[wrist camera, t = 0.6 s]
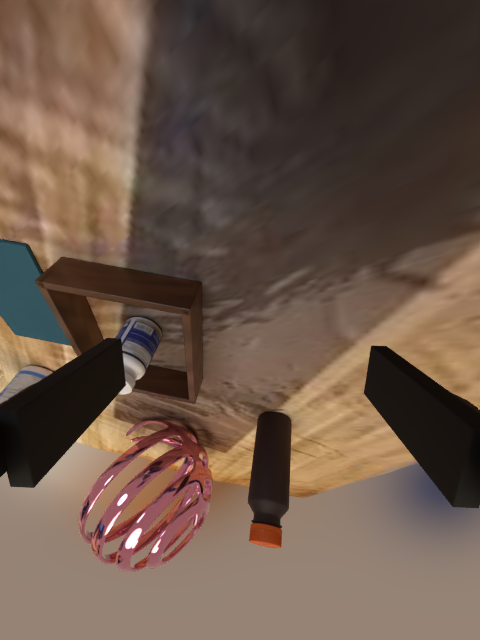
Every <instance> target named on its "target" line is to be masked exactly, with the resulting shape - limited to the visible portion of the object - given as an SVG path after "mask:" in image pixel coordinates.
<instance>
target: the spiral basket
mask: <svg viewBox="0 0 480 640" xmlns="http://www.w3.org/2000/svg"><path fill="white" fill-rule="evenodd" d="M150 423H158V424H162V425H165V426H167V427H168V428H166V429H163V430H160V431H158V432H155V433H153V434H151V435H149V436H142V437H137V438H133V439H131V441H139V442H138V443H136V444H135V445H134V446H132V447H131V448H130V449H128V450H127V451H126V452H125V453H123V454H122V455H121V456H120V457H119V458H118V459H117V460H116V461H115V462H113V463H112V464H111V465H110V466H109V467H108V468H107V469H106V471H105V472H104V473H103V474H102V475H101V476H100V478H99V479H98V480H97V481H96V483H95V484H94V485H93V487H92V488H91V490H90V491H89V493H88V494H87V496H86V498H85V500H84V502H83V504H82V506H81V509H80V512H79V516H78V529H79V532H80V535H81V537H82V539H83V540H84V541H85V542H87V543H89V544H91V551H92V554H93V555H94V557H95V558H96V559H97V560H98V561H100V562H101V563H104V564H115V563H116V567H117V568H118V569H119V570H120V571H123V572H136V571H139V570H141V569H143V568H145V567H148V568H150V569H153V568H157V567H160V566H162V565H164V564H166V563H167V562H169V561H170V560H171V559H172V558H174V557H175V556H176V555H177V554H178V553H179V552H180V551H181V550H182V549H183V548H184V547H185V546H186V545H187V544H188V542H189V541H190V540H191V539H192V538H193V536H194V535H195V534H196V532H197V531H198V530H199V528H200V527H201V526H202V524H203V522H204V520H205V518H206V516H207V513H208V510H209V505H210V498H211V491H212V484H213V477H212V472H211V470H210V469H209V468H208V455H207V452H206V450H205V449H204V447H203V446H202V445H200V444H198V443H197V439H196V437H195V435H194V434H193V433H192V432H191V431H190V430H188V429H186V428H184V427H181V426H178V425H175V424H173V423H171V422H169V421H165V420H160V419H150V420H145V421H142V422H140V423H138V424H136V425H135V426H133V427H132V428H131V429H130V430H129V431H128V432H127V433H126V436H128V435H129V434H131V433H132V432H133V431H135V430H136V429H137V428H139V427H141V426H143V425H146V424H150ZM188 435H189V436H188ZM172 436H177V437H179V438H180V439H181V440H182V443H181V442H179V441H177V440H174V439H171V438H169V437H172ZM189 437H190V438H189ZM158 442H161V443H165V444H168V445H170V446H173V447H175V448H174V449H172V450H170V451H168V452H166V453H165V454H163V455H162V456H160V457H159V458H157V459H156V460H154V461H153V462H152V463H151V464H149V465H148V466H147V467H146V468H144V469H143V470H142V471H141V472H140V473H139V474H137V475H136V476H135V478H133V479H132V480H131V481H130V482H129V483H128V484H127V485H126V486H125V487H124V488H123V489H122V491H121V492H120V493H119V494H118V495H117V496H116V498H115V499H114V500H113V501H112V503H111V504H110V505H109V507H108V508H107V510H106V511H105V512H104V514H103V515H102V517H101V519H100V521H99V523H98V524H97V526H96V528H95V531H94V532H89V531H87V530H85V523H86V520H87V517H88V515H89V512H90V510H91V508H92V507H93V505H94V503H95V502H96V500H97V499H98V497H99V496H100V494H101V493H102V492H103V490H104V489H105V488H106V487H107V485H108V484H109V483H110V482H111V481H112V480H113V479H114V478H115V476H116V475H117V474H118V473H119V472H120V471H121V470H122V469H123V468H124V467H126V466H127V465H128V464H129V463H130V462H131V461H132V460H134V459H135V458H136V457H137V456H139V455H140V454H141V453H143V452H144V451H145V450H147V449H148V448H150V447H151V446H153V445H155V444H156V443H158ZM199 454H202V455H203V459H202V460H201V459H200V458H199ZM182 458H185V460H184V462H183V464H182V465H181V467H180V469H179V470H178V472H177V473H176V475H175V476H174V477H173V479H172V480H171V481H170V483H169V484H168V485H167V486H166V487H165V488H164V489H163V490H162V492H160V494H159V495H158V496H156V498H154V499H153V500H152V501H151V502H150V503H149V504H148V505H147V506H146V507H144V508H143V509H142V510H141V511H139V512H138V513H136V514H135V515H134V516H132V517H131V518H129V519H128V520H126V521H124V522H123V523H121V524H119V525H117V526H115V527H113V528H112V526H113V525H114V523H115V521H116V520H117V518H118V517H119V516H120V514H121V513H122V511H123V510H124V509H125V508H126V507H127V505H128V504H129V503H130V502H131V501H132V500H133V498H134V497H135V496H136V495H137V494H138V493H139V492H140V491H141V490H142V489H143V488H144V487H145V486H146V485H147V484H148V483H149V482H151V481H152V480H153V479H154V478H155V477H156V476H157V475H159V474H160V473H161V472H162V471H164V470H165V469H166V468H168V467H169V466H171V465H172V464H174V463H175V462H177V461H179V460H181V459H182ZM192 465H193V469H192V470H191V471H190V472H188V471H189V470H190V468H191V466H192ZM204 483H205V490H204V493H203V486H204ZM188 488H189V489H188ZM187 489H188V490H187ZM186 490H187V491H186ZM184 491H186V493H185V494H184V496H183V497H182V498H181V499H180V501H179V502H178V503H177V504H176V505H175V506H174V508H173V509H172V510H171V511H170V512H169V513H168V514H167V515H166V516H165V517H164V518H163V519H162V520H161V521H160V522H159V523H158V524H157V525H156V526H155V527H153V528H152V529H151V530H150V531H149V532H148V533H146V534H145V535H144V533H145V532H146V531H147V529H148V528H149V527H150V526H151V524H152V523H153V522H154V521H155V519H156V518H157V517H158V516H159V515H160V514H161V512H163V511H164V510H165V508H166V507H167V506H168V505H169V504H170V503H172V502H173V501H174V500H175V499H176V498H177V497H178V496H179V495H180V494H182V493H183V492H184ZM196 492H197V497H196V500H195V501H194V502H192V503H191V504H190V505H188V503H189V502H190V501H191V499H192V498H193V496H194V495H195V493H196ZM187 505H188V506H187ZM186 506H187V507H186ZM185 507H186V508H185ZM184 508H185V509H184ZM202 511H203V513H202V515H201V517H200V519H199V516H200V514H201V512H202ZM198 519H199V520H198ZM193 521H194V522H193ZM192 523H193V525H194V528H193V529H192V530H191V531H190V533H189V534H188V535H187V536H186V538H185V539H184V540H183V541H182V542H181V543H180V544H179V545H178V546H177V547H176V548H175V549H174V550H173V551H172V552H171V553H169V554H168V555H167V556H166V557H164V558H163V559H161V556H162V555H163V554H164V553H165V552H166V551H167V550H168V549H169V548H170V547H171V546H172V545H173V544H174V543H175V542H176V541H177V540H178V539H179V538H180V537H181V536H182V535H183V534H184V533H185V531H186V530H187V529H188V528H189V527H190V525H191V524H192ZM126 533H127V534H126ZM161 533H162V534H161ZM125 534H126V536H125V538H124V540H123V541H122V543H121V545H120V547H119V549H118V551H117V552H114V553H111V554H105V555H104V554H102V548H103V545H104V543H107V542H110V541H112V540H115V539H117V538H119V537H121V536H123V535H125ZM160 534H161V535H160ZM143 535H144V536H143ZM159 535H160V536H159ZM158 536H159V538H158V539H157V541H156V542H155V544H154V545H153V547H152V549H151V551H150V553H149V555H148V556H147V557H145V558H144V559H142V560H141V561H139V562H137V563H135V564H133V565H130V560H131V556H132V555H134V554H136V553H137V552H139V551H140V550H142V549H143V548H144V547H146V546H147V545H148V544H150V543H151V542H152V541H153V540H154V539H155V538H157V537H158Z"/></svg>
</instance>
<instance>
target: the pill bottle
mask: <svg viewBox="0 0 480 640" xmlns="http://www.w3.org/2000/svg"><path fill="white" fill-rule="evenodd" d="M116 338H120V339H121V341H122V351H123V361H124V371H125V380H126V386H125V387H124V388H123V389H122V390H121V391H120V393H119V394H129V393H130V392H131V391H132V389H133V387H134V385H135V380H138V379H140V378H141V377H142V376H143V375H144V374H145V372H146V370H147V368H148V366H149V363H150V361H151V359H152V357H153V355H154V353H155V351H156V349H157V347H158V345H159V343H160V340H161V338H162V332H161V330H160V328H159V327H158V326H157V325H156V324H155V323H154V322H152V321H151V320H149V319H146V318H142V317H133V318H130V319H128V320H127V321H126V323H125V324H124V326H123V327H122V329H121V330H120V332H119V333H118V335H117V337H116Z"/></svg>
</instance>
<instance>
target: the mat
mask: <svg viewBox="0 0 480 640" xmlns="http://www.w3.org/2000/svg"><path fill="white" fill-rule="evenodd" d="M41 274H43V272H42V270H41V268H40V267H39V265H38V263H37V261H36V259H35V257H34V255H33V253H32V251H31V250H30V248H29V246H28V244H23V243H18V242H12V241H7V240H1V239H0V315H1V317H2V318H3V319H4V321H5V322H6V323H7V324H8V326H9V327H10V328H11V330H12V331H13V332H14V334H15V335H20V336H25V337H30V338H35V339H40V340H45V341H50V342H55V343H60V344H65V345H70V346H71V344H70V342H69V341H68V339H67V337H66V335H65V334H64V332H63V330H62V328H61V327H60V325H59V323H58V321H57V320H56V318H55V316H54V314H53V313H52V311H51V309H50V307H49V306H48V304H47V302H46V300H45V299H44V297H43V295H42V293H41V292H40V290H39V288H38V286H37V285H36V283H35V280H36V279H37V278H38V277H39V276H40V275H41Z"/></svg>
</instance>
